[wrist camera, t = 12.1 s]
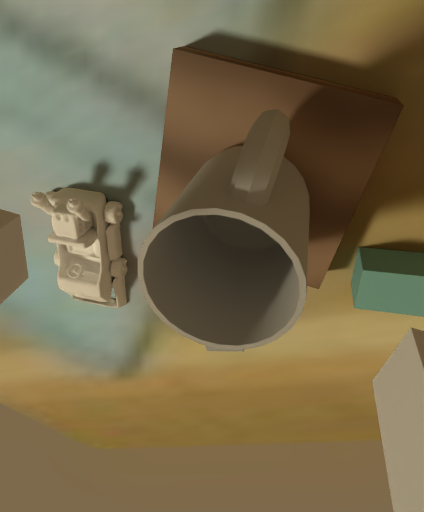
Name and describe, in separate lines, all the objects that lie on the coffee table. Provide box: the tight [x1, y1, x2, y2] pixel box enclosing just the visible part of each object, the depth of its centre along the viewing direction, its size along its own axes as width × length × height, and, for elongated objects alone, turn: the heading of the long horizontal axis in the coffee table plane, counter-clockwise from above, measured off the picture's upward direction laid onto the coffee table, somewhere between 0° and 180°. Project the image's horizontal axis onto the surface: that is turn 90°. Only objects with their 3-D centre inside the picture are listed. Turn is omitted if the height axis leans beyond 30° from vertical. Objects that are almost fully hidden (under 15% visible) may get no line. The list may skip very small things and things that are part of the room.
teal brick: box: [351, 247, 424, 317], centre depth 24 cm, size 6×3×3 cm, turn 91°
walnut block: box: [153, 46, 404, 289], centre depth 23 cm, size 12×12×2 cm
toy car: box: [31, 187, 128, 308], centre depth 29 cm, size 6×12×4 cm, turn 176°
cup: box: [138, 109, 310, 350], centre depth 18 cm, size 7×10×9 cm
